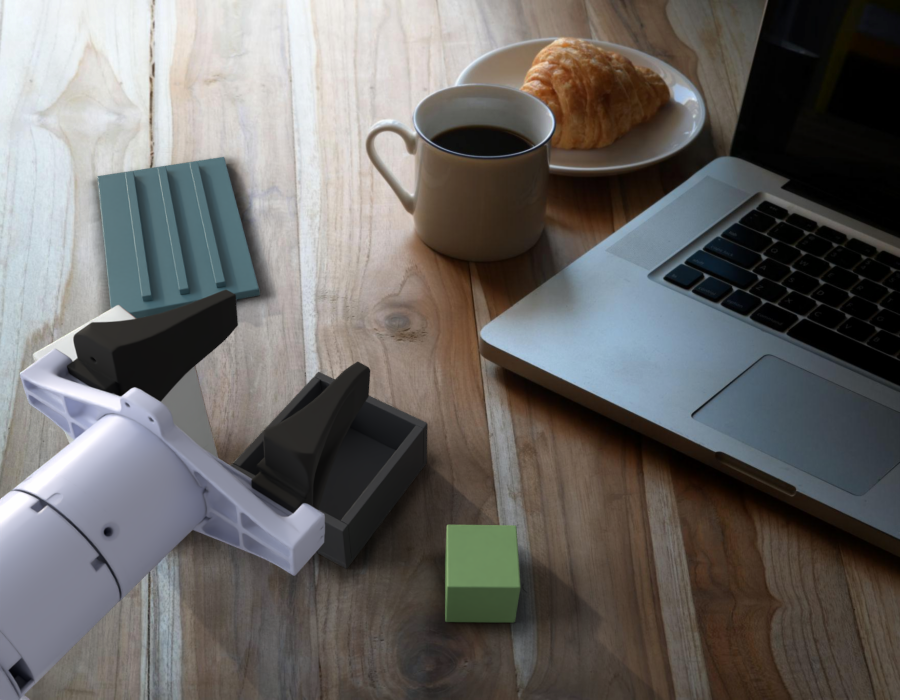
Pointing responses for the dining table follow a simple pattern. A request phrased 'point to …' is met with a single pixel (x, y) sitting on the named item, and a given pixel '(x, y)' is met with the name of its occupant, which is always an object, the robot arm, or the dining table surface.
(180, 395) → the small box
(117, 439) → the robot arm
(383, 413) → the dark grey open tray
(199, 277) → the drainboard
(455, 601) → the block
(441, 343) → the dining table surface
